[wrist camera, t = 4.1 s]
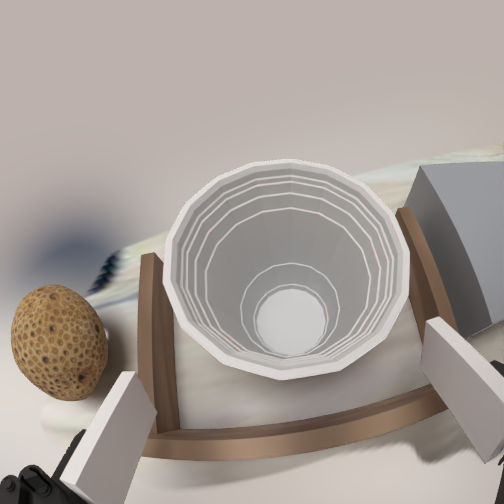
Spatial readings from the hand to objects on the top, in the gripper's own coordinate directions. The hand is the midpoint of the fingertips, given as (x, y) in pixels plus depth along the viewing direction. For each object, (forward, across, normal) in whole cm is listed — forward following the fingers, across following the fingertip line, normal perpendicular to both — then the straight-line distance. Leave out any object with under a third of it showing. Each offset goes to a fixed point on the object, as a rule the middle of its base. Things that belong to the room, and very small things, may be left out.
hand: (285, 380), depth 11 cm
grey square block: (+11, +21, -2) cm, 24 cm away
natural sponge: (+10, -17, -4) cm, 20 cm away
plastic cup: (+10, +1, -3) cm, 11 cm away
